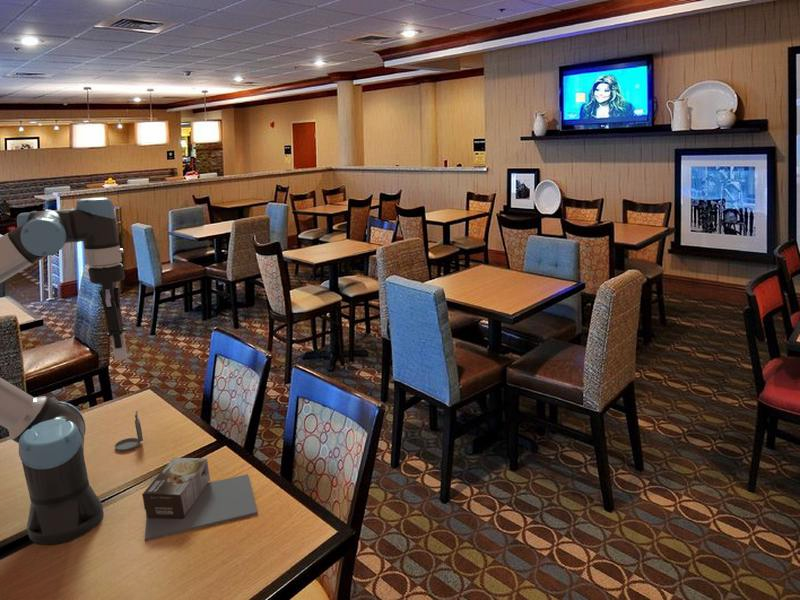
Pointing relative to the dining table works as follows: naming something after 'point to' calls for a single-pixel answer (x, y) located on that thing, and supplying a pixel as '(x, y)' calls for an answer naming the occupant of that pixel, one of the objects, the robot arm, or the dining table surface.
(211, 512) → the mat
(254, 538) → the dining table surface
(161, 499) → the coffee box
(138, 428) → the pocket watch
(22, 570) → the dining table surface
